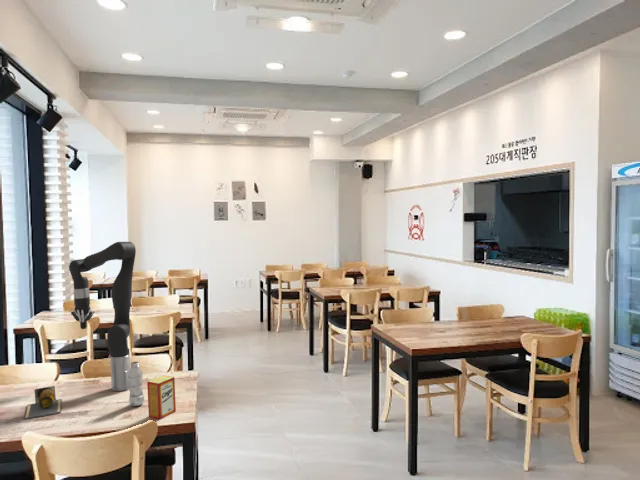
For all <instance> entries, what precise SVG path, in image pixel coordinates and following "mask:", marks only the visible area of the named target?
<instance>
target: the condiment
mask: <svg viewBox="0 0 640 480" xmlns="http://www.w3.org/2000/svg"><path fill="white" fill-rule="evenodd" d="M33 392H34V398H35V399H34V400H35V403H39V404H40V406H41V407H42V408H49V407H50V406H51V405H52V404H53V402H54V400H57V399H56V386H55V385H51V386H45V387H41V388H40V387H39V388H35V389H34V390H33ZM35 403H34V404H35Z"/></svg>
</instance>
